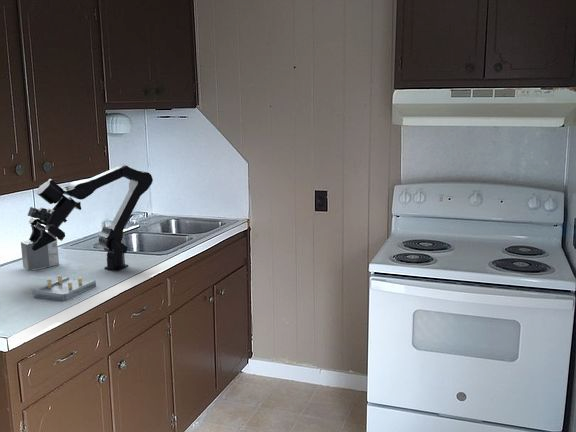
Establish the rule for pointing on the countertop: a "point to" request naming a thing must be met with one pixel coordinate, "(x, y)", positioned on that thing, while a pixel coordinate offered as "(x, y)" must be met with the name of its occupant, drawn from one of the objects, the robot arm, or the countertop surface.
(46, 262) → the block
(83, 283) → the dock
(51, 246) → the light bulb box
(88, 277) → the countertop surface
